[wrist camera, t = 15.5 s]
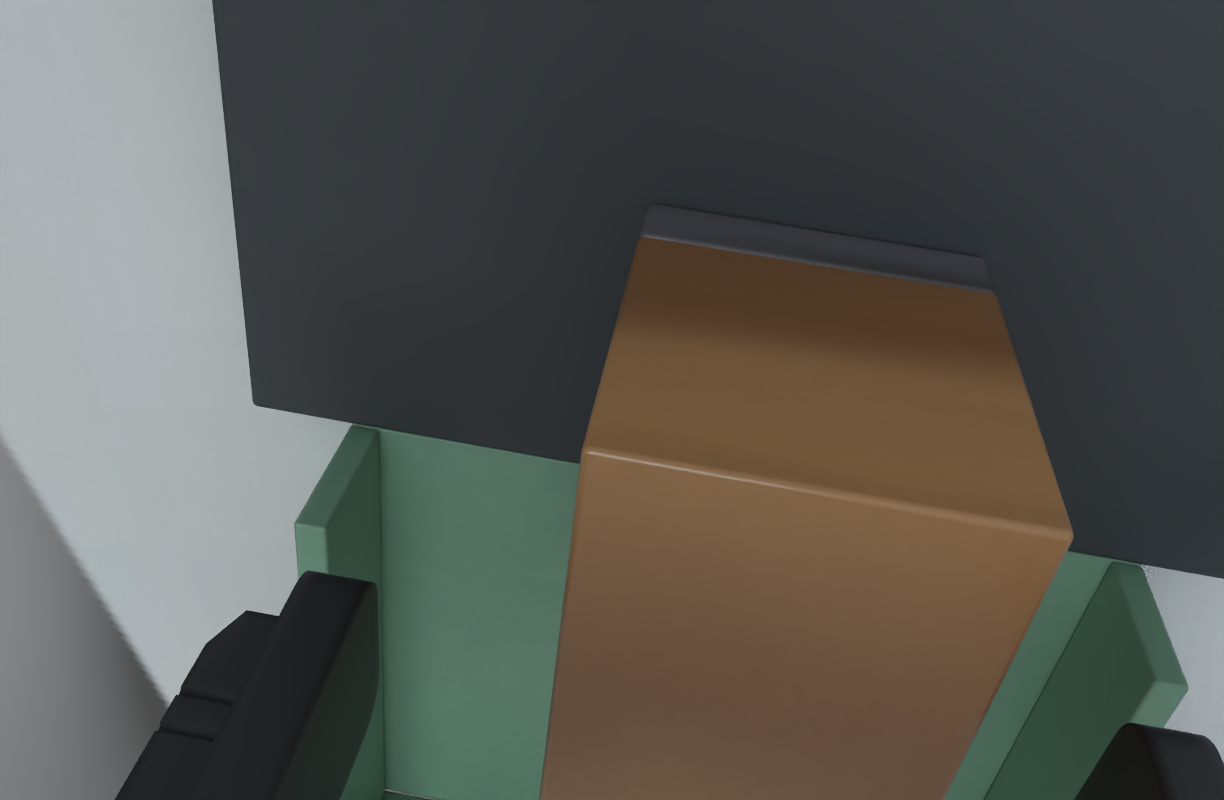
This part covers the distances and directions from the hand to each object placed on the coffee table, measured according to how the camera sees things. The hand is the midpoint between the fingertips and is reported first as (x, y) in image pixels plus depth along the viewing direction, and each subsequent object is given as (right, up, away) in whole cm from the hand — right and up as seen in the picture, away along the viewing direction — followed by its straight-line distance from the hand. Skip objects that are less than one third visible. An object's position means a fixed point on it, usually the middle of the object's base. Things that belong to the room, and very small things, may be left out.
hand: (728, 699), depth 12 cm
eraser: (+1, +3, +4) cm, 5 cm away
